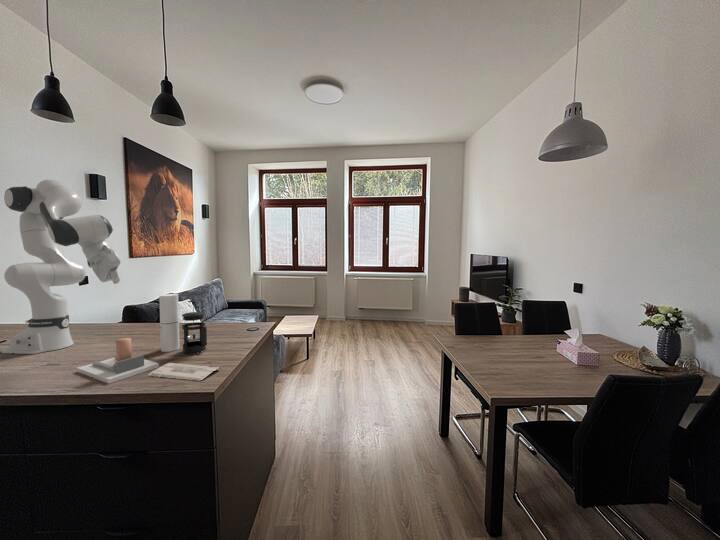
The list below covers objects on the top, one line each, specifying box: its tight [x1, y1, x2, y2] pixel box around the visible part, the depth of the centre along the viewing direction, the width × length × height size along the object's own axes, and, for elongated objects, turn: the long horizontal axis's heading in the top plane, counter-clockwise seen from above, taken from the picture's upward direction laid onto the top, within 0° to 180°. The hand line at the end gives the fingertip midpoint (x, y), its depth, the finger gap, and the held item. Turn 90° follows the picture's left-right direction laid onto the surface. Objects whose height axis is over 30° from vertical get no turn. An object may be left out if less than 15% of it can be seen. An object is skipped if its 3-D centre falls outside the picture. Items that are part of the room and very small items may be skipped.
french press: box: [181, 299, 208, 355], centre depth 130 cm, size 12×9×23 cm
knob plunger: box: [113, 337, 133, 367], centre depth 108 cm, size 5×5×10 cm
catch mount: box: [76, 354, 160, 385], centre depth 109 cm, size 22×16×6 cm
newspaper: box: [147, 362, 222, 381], centre depth 108 cm, size 23×12×2 cm, turn 79°
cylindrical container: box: [158, 293, 180, 353], centre depth 132 cm, size 7×7×25 cm
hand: (117, 282), depth 123 cm, fingers closed
